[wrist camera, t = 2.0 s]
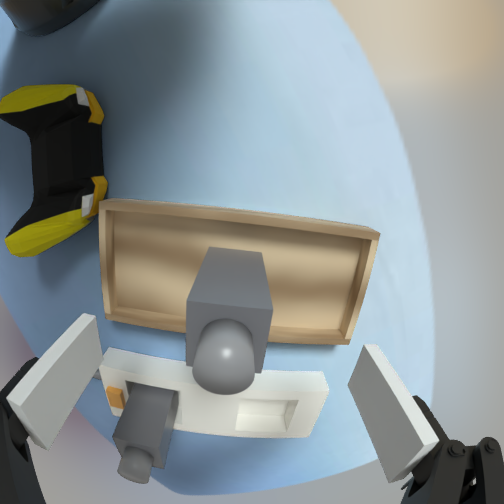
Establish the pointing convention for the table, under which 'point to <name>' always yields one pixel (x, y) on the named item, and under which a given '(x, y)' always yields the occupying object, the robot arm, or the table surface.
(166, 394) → the twin plug
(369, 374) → the robot arm
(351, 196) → the table surface
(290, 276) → the tray
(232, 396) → the strip
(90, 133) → the gaming controller
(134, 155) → the table surface
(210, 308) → the plug
